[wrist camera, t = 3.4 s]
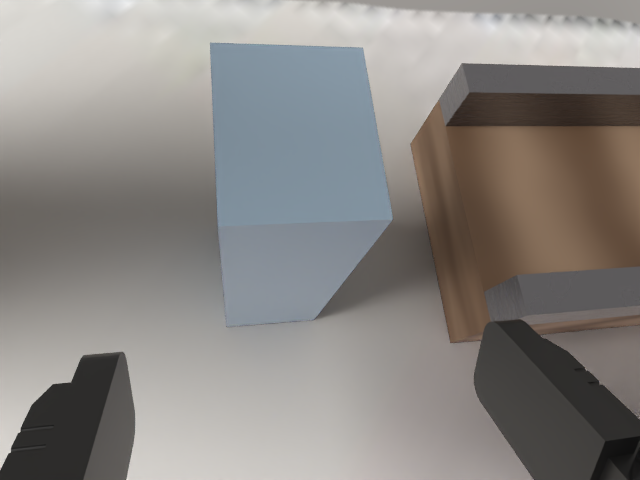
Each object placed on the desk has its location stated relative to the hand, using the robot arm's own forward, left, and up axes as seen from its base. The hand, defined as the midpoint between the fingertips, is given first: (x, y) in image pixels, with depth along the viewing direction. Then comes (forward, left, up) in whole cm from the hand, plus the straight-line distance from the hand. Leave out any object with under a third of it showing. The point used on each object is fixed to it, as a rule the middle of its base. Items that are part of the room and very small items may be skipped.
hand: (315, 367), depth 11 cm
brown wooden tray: (+7, +15, -11) cm, 20 cm away
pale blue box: (-4, +4, -11) cm, 12 cm away
